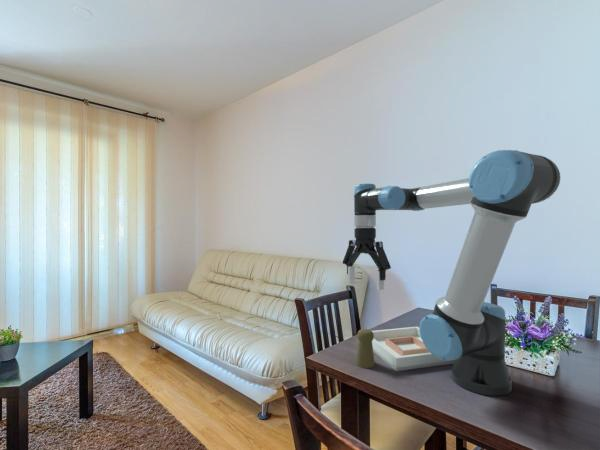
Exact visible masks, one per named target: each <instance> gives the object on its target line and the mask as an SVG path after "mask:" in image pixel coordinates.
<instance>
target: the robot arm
mask: <svg viewBox="0 0 600 450" xmlns="http://www.w3.org/2000/svg"><path fill="white" fill-rule="evenodd" d="M560 184H561V172H560V170H559V167H558V165H556V163H555V162H554V161H553V160H552V159H550V158H548V157H546V156H543V155H539V154H533V153H528V152H523V151H519V150H517V149H515V150H512V149H501V150H500V149H499V150H496V151H491V152H489V153H487V154H486V155H484V156H482V157H481V158H480V159H479V160H477V162H476V163H475V164H474V166H473V167H472V169H471V171H470V173H469V177H468V178H463V179H456V180H451V181H447V182H441V183H436V184H431V185H425V186H419V187H414V188H403V187H400V186H397V185H388V186H384V187H378V188H376V185H375V184H374V183H359V184H356V185H355V186H354V194H353V200H354V204H353V205H354V217H353V218H354V221H353V222H354V223H353V225H354V227H355V228H354V239H349V240H348V247H347V250H346V251H345V255H344V257H343V259H342V265H345V266H346V274H347V284H348V285H354V284H356V283H355V281H356V279H355V278H356V277H355V273H356V272H355V263H356V261H357V259H358V258H359V256H361V254H366V255H367V254H368V256H369V257H370V258H371V260H372V261H373V263H374V264H375V266H376V267H377V271H376V284H377V285H376V290H377V291H382V290H385V281H386V278H387V277H386V271H387V270H388V271H389V270H390V269H392V267H391V264H390V262H389V260H388V257H387V254H386V252H385V248H384V242H383V241H376V238H377V229H376V228H375V227H376V226H377V223H376V220H377V219H376V216H377V215H376V214H377V211H412V212H413V211H414V212H416V211H417V212H420V211H424V210H425V209H435V208H436V209H437V208H444V207H445V208H446V207H454V206H464V205H471V207H472V209H473V211H474V214H473V216H472V219H471V223H470V225H469V228H468V230H467V233H466V236H465V239H464V241H463V245H462V248H461V250H460V253H459V257H458V259H457V262H456V264H455V268H454V270H453V274H452V276H451V279H450V282H449V284H448V287H447V290H446V293H445V296H443V297H439V298H438V299H437V300H436V302H435V305H434V308H433V311H432V313H430V314H427V315H425V316H424V317H423V318H421V320H420V322H419V326H418V327H419V332H420V337H421V339H422V340H423V344H424V346H425V347H426V348H427V350H428V351H429V352H430V353H431V354H432V355H433V356H435V357H437V358H438V359H441V360H453V359H454V360H455V363H454V364H453V365H452V366H451V378H452V380H453V381H454V383H456V384H457V385H458V386H460V387H462V388H464V389H465V390H468V391H469V392H472V393H476V394H480V395H484V396H490V397H491V396H493V397H498V396H506V395H509V394H510V393H511V392H512V389H513V388H512V387H513V386H512V385H513V383H512V382H513V381H512V378H511V376H510V373H509V370H508V369H509V368H508V366H507V363H506V357H505V355H506V322H507V319H506V310H505V308H503V307H502V306H500V305H497V304H494V303H490V302H486V301H485V299H486V298H487V295H488V292H489V290H490V287H491V285H492V282H493V281H494V278H495V276H496V273H497V269H498V268H499V265H500V262H501V260H502V258H503V255H504V252H505V250H506V248H507V246H508V243H509V239H510V237H511V234H512V232H513V229H514V227H515V225H516V223H517V222H519V221H522V220H524V219H526V218H527V217H528V215H529V211H530V208H531V206H532V204H538V203H541V202H544V201H545V200H548V199H550V198H551V196H553V195H554V194H555V192H557V190H558V188H559V186H560Z"/></svg>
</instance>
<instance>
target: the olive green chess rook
mask: <svg viewBox="0 0 600 450" xmlns="http://www.w3.org/2000/svg"><path fill="white" fill-rule="evenodd" d="M372 331H373V330H371V329H367V328H361V329H359V330H358V332H357V339H358V345H357V351H356V352H357V353H356V359H355V360H356V361H355V365H356V366H357V367H359V368H362V369H371V368H373V367H375V366H376V364H375V357H374V354H375V353H374V352H373V346H372V340H373V338H374V334H373V332H372Z"/></svg>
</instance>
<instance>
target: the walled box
mask: <svg viewBox="0 0 600 450" xmlns="http://www.w3.org/2000/svg"><path fill="white" fill-rule="evenodd" d="M371 331H372V332H373V334H374V338H373V340H372V346H373V354H375V355H377V356H378V357H379V358H380V360H383V362H384V363H386V364H387V365H388V366H389V367H391V368H392V370H394V371H396V372H400V371H408V370H409V371H410V370H416V369H421V368H422V369H423V368H432V367H437V366H438V367H439V366H444V365H446V366H447V365H452V364H453V365H454V364H455V360H454V359H453V360H441V359H438V358H437V357H435V356H433V355H432V354H431V353H430V352H429V351H428V350H427V348H426V347H425V346H424V344H423V340H422V339H421V337H420V332H419V326H408V327H400V328H399V327H397V328H389V329H378V330H376V329H375V330H371Z"/></svg>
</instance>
